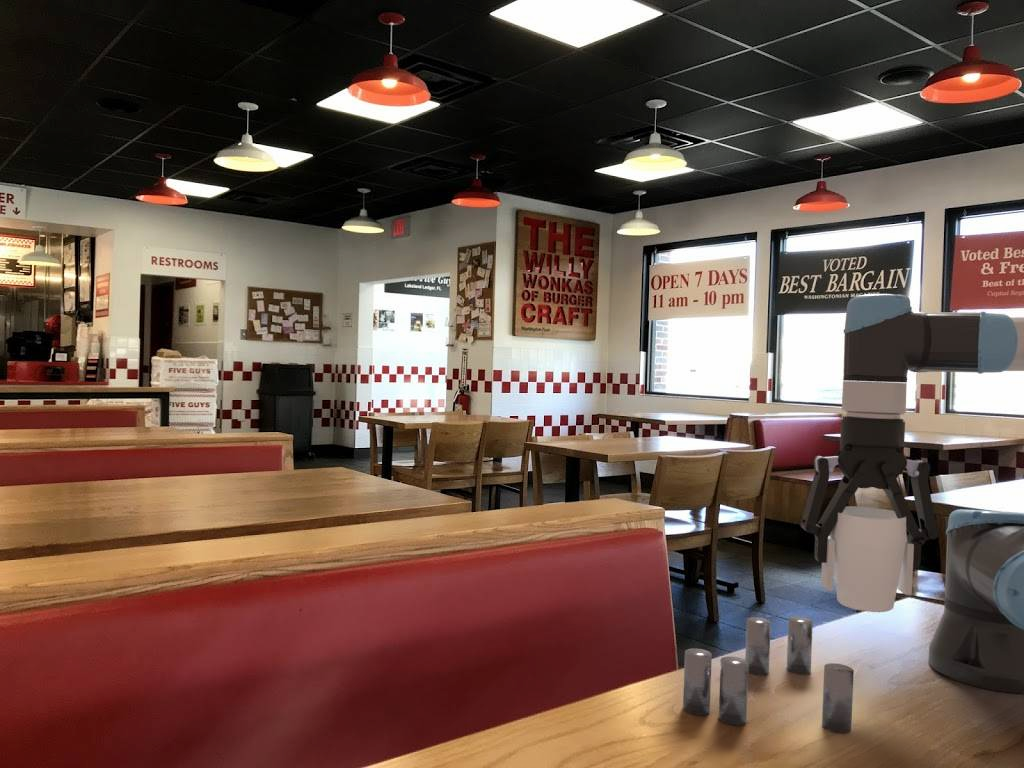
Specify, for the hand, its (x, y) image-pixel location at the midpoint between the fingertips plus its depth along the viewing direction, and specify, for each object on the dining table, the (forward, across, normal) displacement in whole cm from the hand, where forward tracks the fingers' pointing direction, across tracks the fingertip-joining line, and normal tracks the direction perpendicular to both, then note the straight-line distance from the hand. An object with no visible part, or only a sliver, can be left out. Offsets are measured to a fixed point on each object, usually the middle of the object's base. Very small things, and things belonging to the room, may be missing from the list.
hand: (865, 589), depth 103 cm
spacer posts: (+14, +14, +1) cm, 20 cm away
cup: (+2, 0, 0) cm, 2 cm away
